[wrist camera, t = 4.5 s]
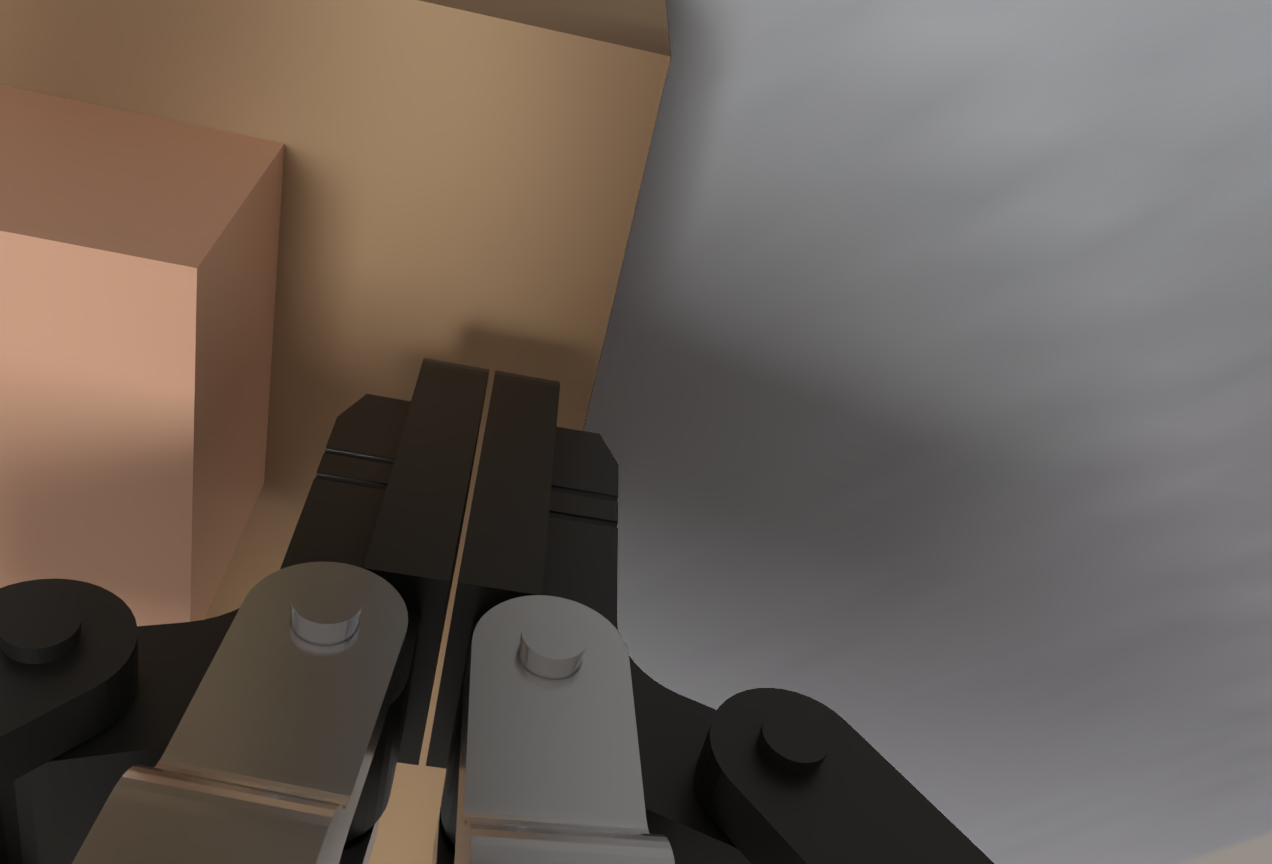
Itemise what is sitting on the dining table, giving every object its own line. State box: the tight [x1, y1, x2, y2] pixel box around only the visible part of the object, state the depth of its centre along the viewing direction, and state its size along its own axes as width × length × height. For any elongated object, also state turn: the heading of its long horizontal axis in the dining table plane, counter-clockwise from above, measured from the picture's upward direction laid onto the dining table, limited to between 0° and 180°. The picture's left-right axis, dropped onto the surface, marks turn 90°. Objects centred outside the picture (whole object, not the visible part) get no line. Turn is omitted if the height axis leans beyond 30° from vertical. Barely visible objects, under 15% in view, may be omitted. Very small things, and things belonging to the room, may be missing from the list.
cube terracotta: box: [0, 85, 284, 626], centre depth 12 cm, size 4×4×3 cm
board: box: [0, 0, 671, 864], centre depth 17 cm, size 10×15×4 cm, turn 168°
